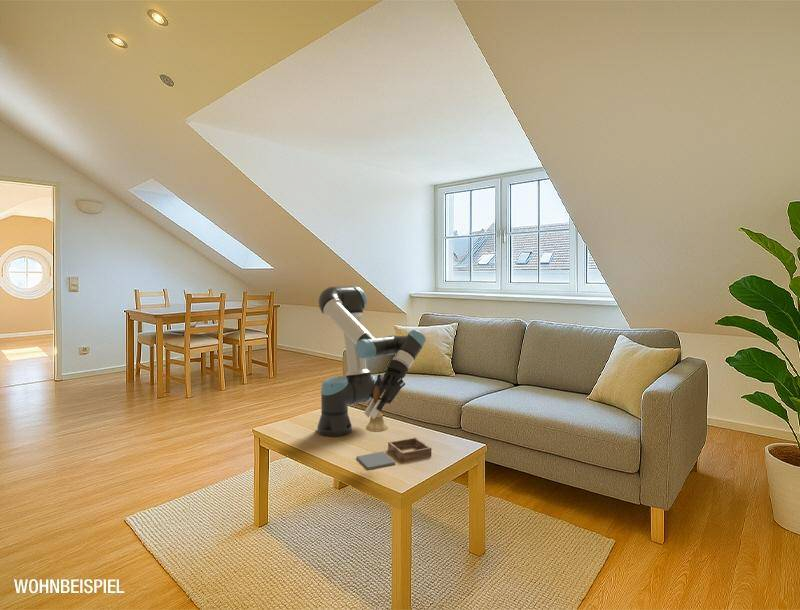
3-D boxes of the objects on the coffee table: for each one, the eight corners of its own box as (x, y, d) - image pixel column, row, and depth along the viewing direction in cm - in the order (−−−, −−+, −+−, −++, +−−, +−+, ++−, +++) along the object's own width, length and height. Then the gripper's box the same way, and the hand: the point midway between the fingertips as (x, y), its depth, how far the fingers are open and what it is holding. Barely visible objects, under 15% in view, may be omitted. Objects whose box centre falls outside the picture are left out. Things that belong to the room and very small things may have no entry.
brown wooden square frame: (388, 449, 189) (388, 442, 188) (415, 444, 194) (415, 437, 194) (402, 461, 177) (402, 453, 177) (431, 455, 183) (431, 448, 183)
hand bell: (368, 433, 171) (368, 390, 169) (363, 425, 179) (364, 384, 177) (390, 431, 173) (390, 388, 171) (384, 423, 181) (385, 383, 179)
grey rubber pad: (356, 458, 179) (356, 456, 179) (382, 453, 184) (382, 451, 184) (367, 469, 170) (367, 467, 170) (395, 464, 175) (395, 462, 175)
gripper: (419, 373, 180) (389, 426, 169) (391, 367, 191) (360, 416, 180) (410, 361, 176) (378, 415, 165) (381, 356, 186) (349, 406, 176)
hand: (369, 415), depth 172 cm, fingers closed on hand bell, 2 cm apart
